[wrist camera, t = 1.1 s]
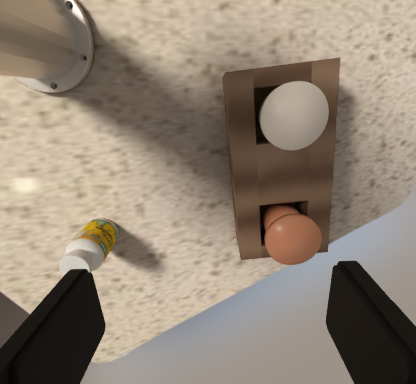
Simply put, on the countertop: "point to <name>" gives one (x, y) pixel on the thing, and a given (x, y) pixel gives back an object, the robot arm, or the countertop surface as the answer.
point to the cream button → (293, 115)
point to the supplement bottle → (90, 246)
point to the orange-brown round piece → (290, 234)
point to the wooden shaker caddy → (277, 153)
